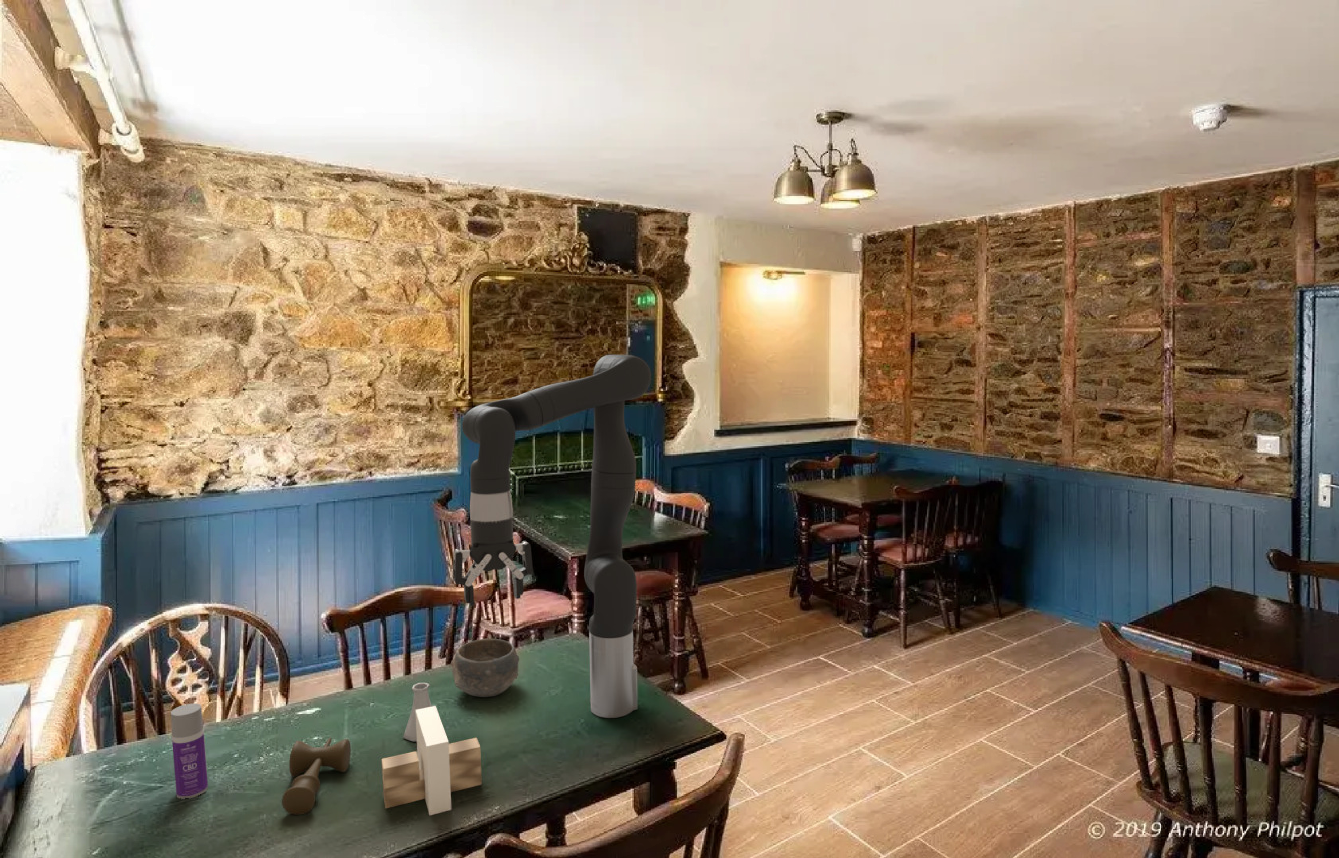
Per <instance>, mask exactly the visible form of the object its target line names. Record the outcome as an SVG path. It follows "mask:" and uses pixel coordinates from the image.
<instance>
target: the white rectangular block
mask: <svg viewBox="0 0 1339 858" xmlns="http://www.w3.org/2000/svg"><path fill="white" fill-rule="evenodd" d="M415 712H416V734H417V741H416V752H417V756H418V760H419V770H420V769H422V773H423V777H424V780H425V799H424V800H425V803H426V807H427V811H428V815H429V816H433V815H437V814H440V813H444V812H448V811H452V797H451V796H452V795H451V793H452V792H451V790H450V765H449V744H450V742H449V739H448V737H447V733H446V731H445V728H444V725H443V723H442V720H441V718H440V714H439V711H438V709H437V706H436V705H432V707H427V708H422V709H417V710H415Z"/></svg>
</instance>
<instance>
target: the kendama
mask: <svg viewBox="0 0 1339 858" xmlns="http://www.w3.org/2000/svg"><path fill="white" fill-rule="evenodd" d="M331 742H332V737H329V738H328V739H327V741H326V742H325V743H324V745H323V746H321V747H313V746H310V744H307V743H305V742H304V741H301V740H296V741H295V742H294V744H293V746H292V747H291V750H290V754H289V764H288V765H289V767H288V768H289V769H288V770H289V773H290V777H293V778H294V779H293V780H292V782H291V787H290V788H288V789H286V790H285V792H284V793H283V795H282V798H281V806H282V808H283V809H284V811H285V812H286V813H287V814H289V815H296V816H298V815H303V814H307V813H309V812H311V810H313V808H314V806H315V803H316V797H315V796H316V795H317V794H318V793H319V791H320V788H321V783H320V781H321V780H320V779H319V774H320V771H321V767H329V768H332V769H334V770H336V771H338V772H340V773H345V772H346V771H347V770H348V768H349V766H350V761H351V753H352V748H351V747H352V745H351V741H350V739H348V738H344V739H342V740H340V741H338V742H337V743H334V744H332V745H331ZM303 773H304V774H303Z"/></svg>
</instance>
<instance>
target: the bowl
mask: <svg viewBox="0 0 1339 858" xmlns="http://www.w3.org/2000/svg"><path fill="white" fill-rule="evenodd" d="M519 662H520V657H519V655H518V654H517V651H516V648H515V646H514V645H513V643H512V642H509V641H507V640H504V639H497V638H481V639H476V640H472V641H469V642H467V643H464V644H463V645H461V646H459V647H458V648H457V650H456V651H455V654H454V658H453V659H452V660H451V661H450V665H451V671H452V676H453V677H452V678H453V681H454V685H455V687H456V688H458V689H459V690H460V691H462V692H463V693H466V694H468V695H470V696H473V697H480V698H491V697H496V696H498V695H500V694H502V693H504V692H505V691H506V690H508V688H509V687H510V686H512V684H513V683H514V682H515V681H516V679H518V676H519Z"/></svg>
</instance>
